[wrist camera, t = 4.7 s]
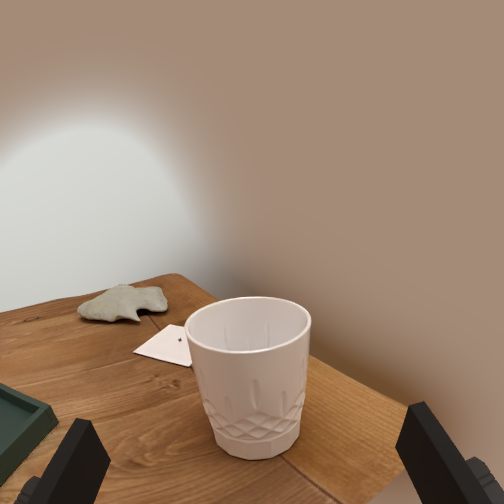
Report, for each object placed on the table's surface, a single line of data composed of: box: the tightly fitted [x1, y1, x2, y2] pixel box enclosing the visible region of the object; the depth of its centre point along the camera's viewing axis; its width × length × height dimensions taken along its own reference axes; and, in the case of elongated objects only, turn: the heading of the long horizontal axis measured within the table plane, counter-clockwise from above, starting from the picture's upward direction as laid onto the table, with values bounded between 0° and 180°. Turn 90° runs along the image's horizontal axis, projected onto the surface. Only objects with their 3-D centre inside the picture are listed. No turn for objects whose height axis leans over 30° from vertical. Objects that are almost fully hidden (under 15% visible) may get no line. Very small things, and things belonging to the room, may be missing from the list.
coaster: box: [134, 325, 192, 366], centre depth 36 cm, size 8×8×1 cm
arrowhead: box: [77, 285, 168, 322], centre depth 45 cm, size 12×3×15 cm
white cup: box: [184, 297, 311, 460], centre depth 20 cm, size 8×8×10 cm
